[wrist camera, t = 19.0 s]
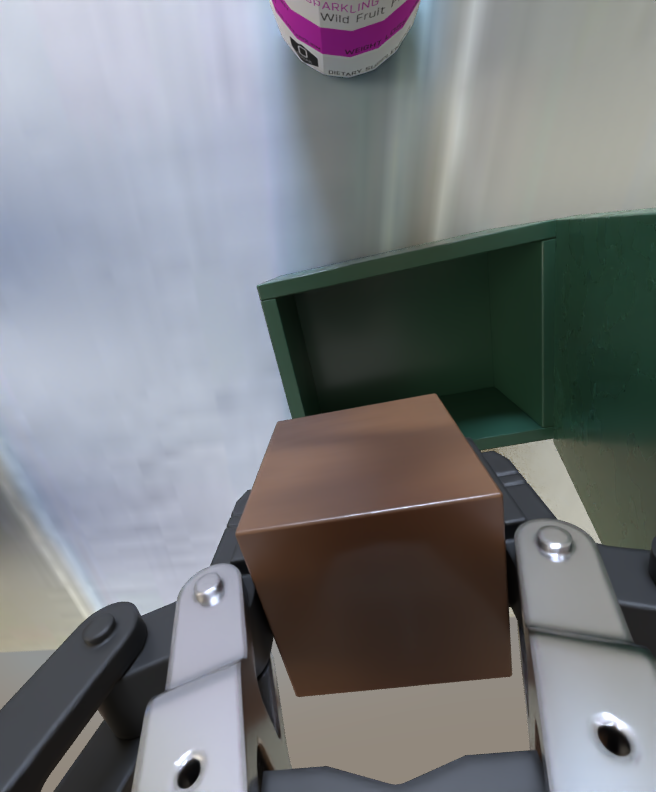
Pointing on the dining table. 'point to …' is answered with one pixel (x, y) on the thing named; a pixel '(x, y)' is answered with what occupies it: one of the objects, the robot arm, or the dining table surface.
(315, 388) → the tea tin
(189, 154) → the dining table surface
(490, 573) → the walnut block
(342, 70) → the supplement can
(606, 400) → the tin lid
